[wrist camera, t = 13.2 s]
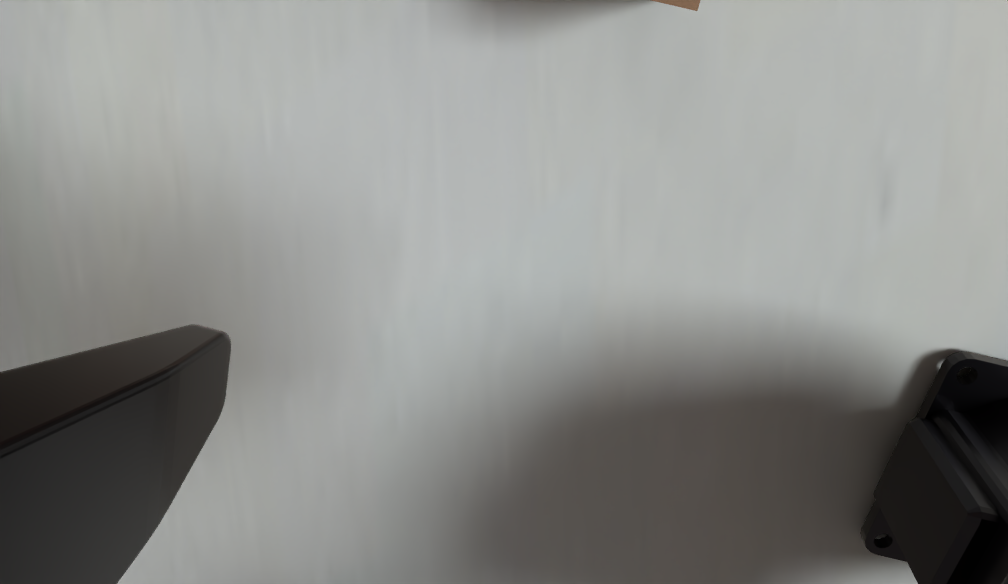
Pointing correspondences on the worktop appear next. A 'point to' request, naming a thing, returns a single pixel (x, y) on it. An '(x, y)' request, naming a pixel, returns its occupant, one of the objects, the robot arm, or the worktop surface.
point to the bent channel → (682, 3)
